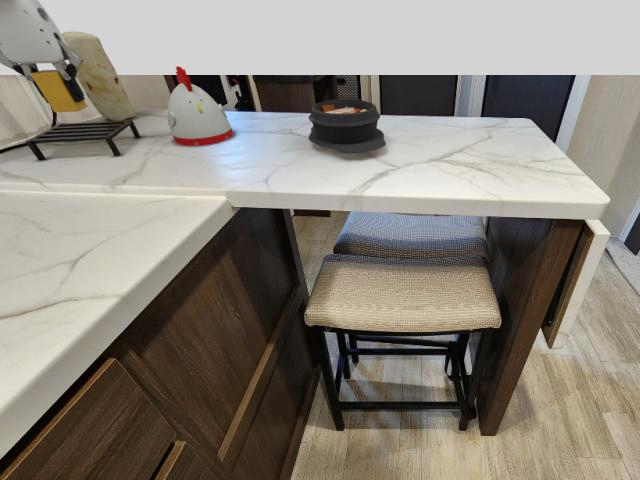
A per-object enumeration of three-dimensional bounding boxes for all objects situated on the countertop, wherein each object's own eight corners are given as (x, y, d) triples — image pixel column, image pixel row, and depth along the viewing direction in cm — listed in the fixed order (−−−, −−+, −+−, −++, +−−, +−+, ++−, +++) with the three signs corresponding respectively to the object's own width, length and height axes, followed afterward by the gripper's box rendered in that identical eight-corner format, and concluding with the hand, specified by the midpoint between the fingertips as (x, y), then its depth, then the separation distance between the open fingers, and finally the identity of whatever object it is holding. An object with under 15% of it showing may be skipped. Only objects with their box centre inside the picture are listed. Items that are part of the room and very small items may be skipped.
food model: (141, 115, 100) (101, 30, 86) (133, 121, 95) (89, 32, 81) (105, 116, 98) (58, 30, 85) (95, 123, 93) (44, 32, 80)
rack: (38, 160, 72) (24, 141, 70) (70, 140, 82) (59, 123, 80) (119, 155, 75) (108, 137, 72) (141, 136, 85) (132, 119, 82)
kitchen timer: (183, 149, 78) (152, 74, 68) (168, 135, 86) (137, 66, 75) (241, 138, 85) (220, 67, 75) (222, 126, 92) (200, 60, 82)
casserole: (296, 135, 87) (289, 99, 81) (360, 125, 94) (357, 91, 88) (330, 167, 71) (325, 124, 65) (404, 152, 78) (405, 113, 72)
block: (54, 112, 71) (30, 73, 66) (65, 107, 74) (42, 70, 70) (78, 111, 72) (55, 73, 67) (87, 106, 75) (66, 69, 70)
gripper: (61, -13, 64) (116, 96, 76) (-43, -14, 61) (32, 99, 73) (39, -14, 58) (102, 103, 71) (-76, -15, 56) (11, 107, 68)
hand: (66, 100), depth 72 cm, fingers closed on block, 4 cm apart
